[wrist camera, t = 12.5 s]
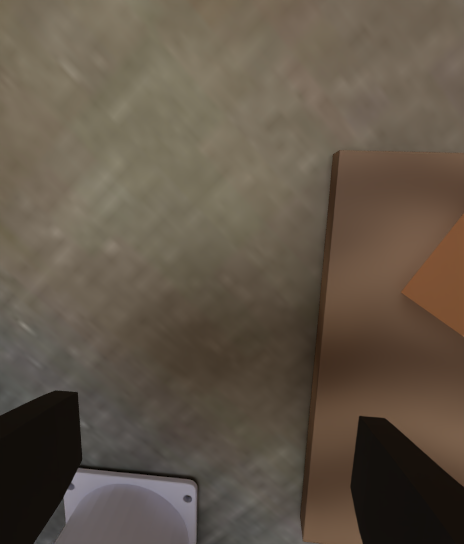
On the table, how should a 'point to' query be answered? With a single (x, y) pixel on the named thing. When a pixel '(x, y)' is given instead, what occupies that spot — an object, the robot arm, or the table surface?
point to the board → (381, 327)
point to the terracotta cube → (442, 280)
